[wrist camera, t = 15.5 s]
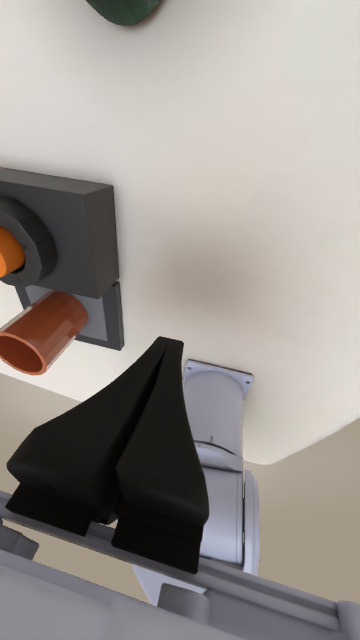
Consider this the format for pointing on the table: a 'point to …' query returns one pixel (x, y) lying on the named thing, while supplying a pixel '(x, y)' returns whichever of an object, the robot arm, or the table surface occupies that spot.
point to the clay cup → (42, 332)
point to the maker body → (60, 232)
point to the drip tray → (90, 315)
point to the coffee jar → (123, 10)
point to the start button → (9, 253)
